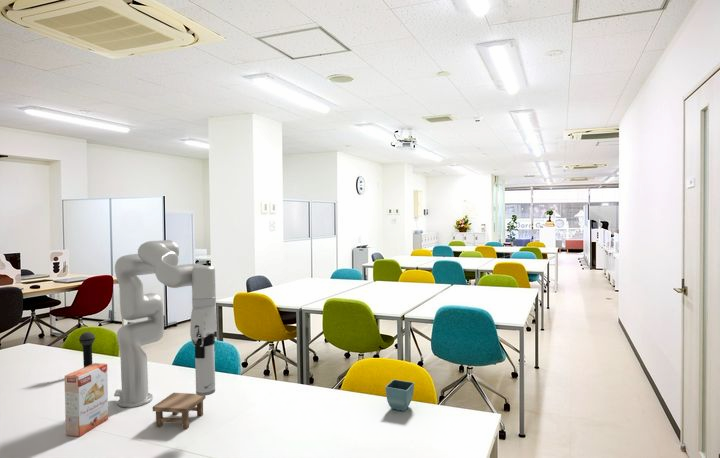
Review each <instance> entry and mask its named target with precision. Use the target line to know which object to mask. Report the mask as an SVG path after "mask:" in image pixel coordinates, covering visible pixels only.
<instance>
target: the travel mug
mask: <svg viewBox="0 0 720 458" xmlns="http://www.w3.org/2000/svg"><path fill="white" fill-rule="evenodd" d="M198 337H201V335H198ZM214 337H215V338H216V334H211V335H209V336H207V337H205V339H204V344H203V346H205V358H203V359H202V358H195V357H194V361H195V362H194V364H195V394H197V395H200V396H210V395H213V394H214V393H215V392H216V365H215V363H216V362H215V361H216V359H215V358H216V355H215V354H216V353H215V352H216V351H214ZM198 340H199V341H200V342H201V339H198Z"/></svg>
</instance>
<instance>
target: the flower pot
mask: <svg viewBox="0 0 720 458" xmlns="http://www.w3.org/2000/svg"><path fill="white" fill-rule="evenodd" d="M414 389H415V382H413V381H407V380H399V379H392V380H391V381H390V382H389V383H387V385H385V394H386V401H387V403H388V405H389V407H390V408H391V409H392V410H395V409H396V410H397V411H400V410H401V411H402V412H405V411H406V410H407V409H408V407H409V406H410V404H411V402H412V400H413V397H414Z"/></svg>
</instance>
